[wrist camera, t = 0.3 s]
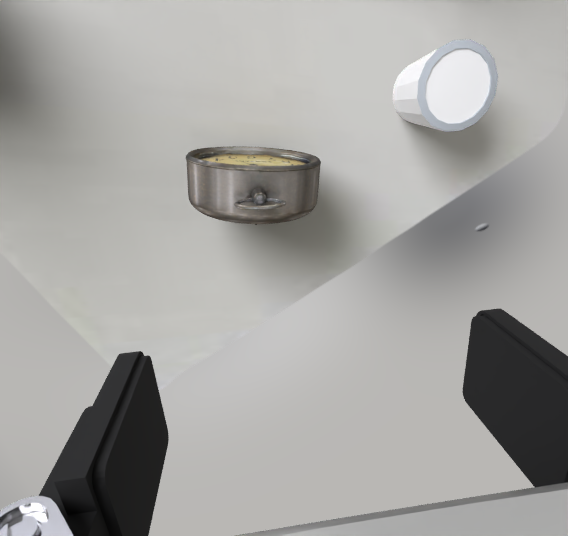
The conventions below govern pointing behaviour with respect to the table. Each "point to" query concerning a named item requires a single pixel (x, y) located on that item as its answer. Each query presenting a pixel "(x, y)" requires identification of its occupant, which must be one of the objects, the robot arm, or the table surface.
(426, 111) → the white round container
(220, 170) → the alarm clock
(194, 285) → the table surface
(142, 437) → the robot arm
